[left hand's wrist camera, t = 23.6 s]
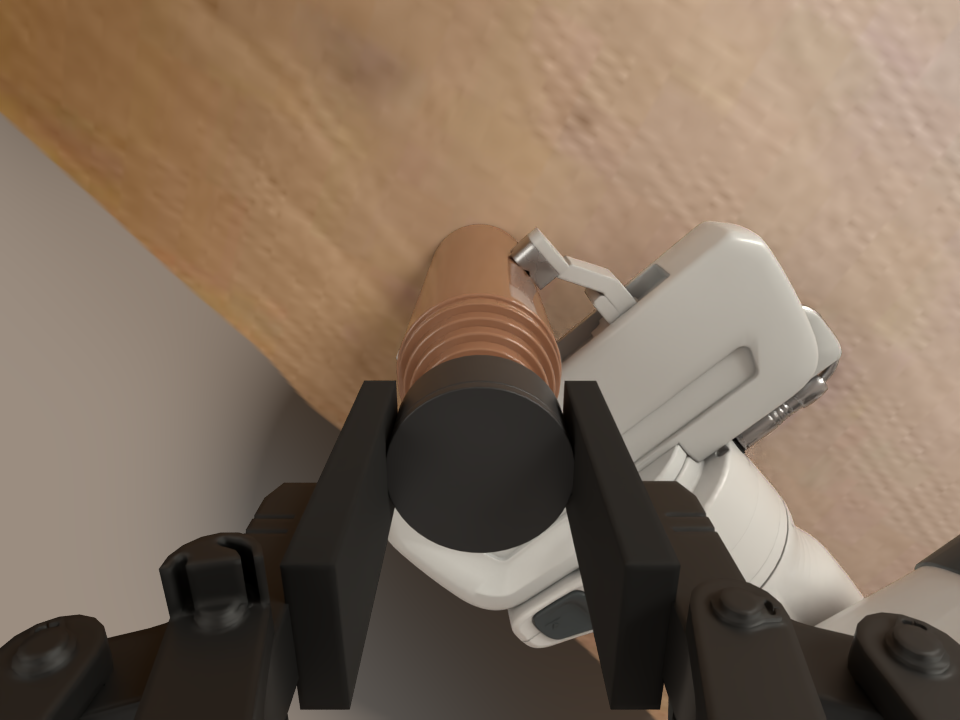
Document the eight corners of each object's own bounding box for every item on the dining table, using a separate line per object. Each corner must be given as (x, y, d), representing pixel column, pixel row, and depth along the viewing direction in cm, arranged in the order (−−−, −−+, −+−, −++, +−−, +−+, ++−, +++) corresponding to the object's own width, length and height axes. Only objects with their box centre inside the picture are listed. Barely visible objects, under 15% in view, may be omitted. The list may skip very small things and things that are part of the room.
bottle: (478, 338, 33) (477, 584, 15) (410, 272, 31) (321, 456, 14) (548, 274, 32) (636, 459, 14) (480, 202, 30) (480, 305, 13)
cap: (540, 517, 16) (548, 568, 14) (383, 487, 15) (370, 535, 14) (584, 374, 14) (599, 408, 12) (412, 337, 14) (402, 368, 12)
